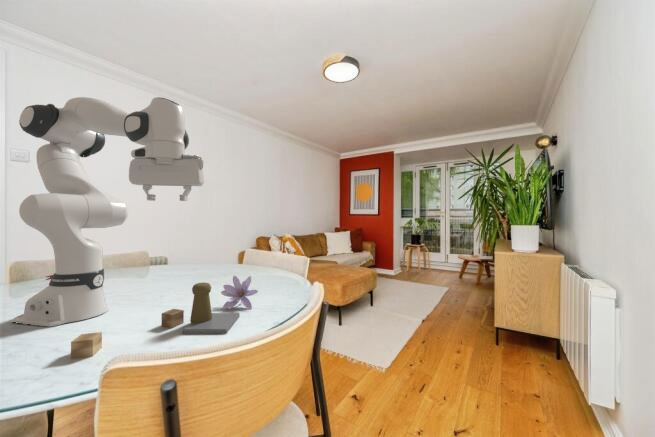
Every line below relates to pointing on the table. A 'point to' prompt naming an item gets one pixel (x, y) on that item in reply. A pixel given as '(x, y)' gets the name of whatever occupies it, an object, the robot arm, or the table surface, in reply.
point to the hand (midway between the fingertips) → (167, 200)
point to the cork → (201, 303)
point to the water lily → (238, 293)
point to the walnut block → (172, 318)
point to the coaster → (213, 324)
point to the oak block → (86, 345)
